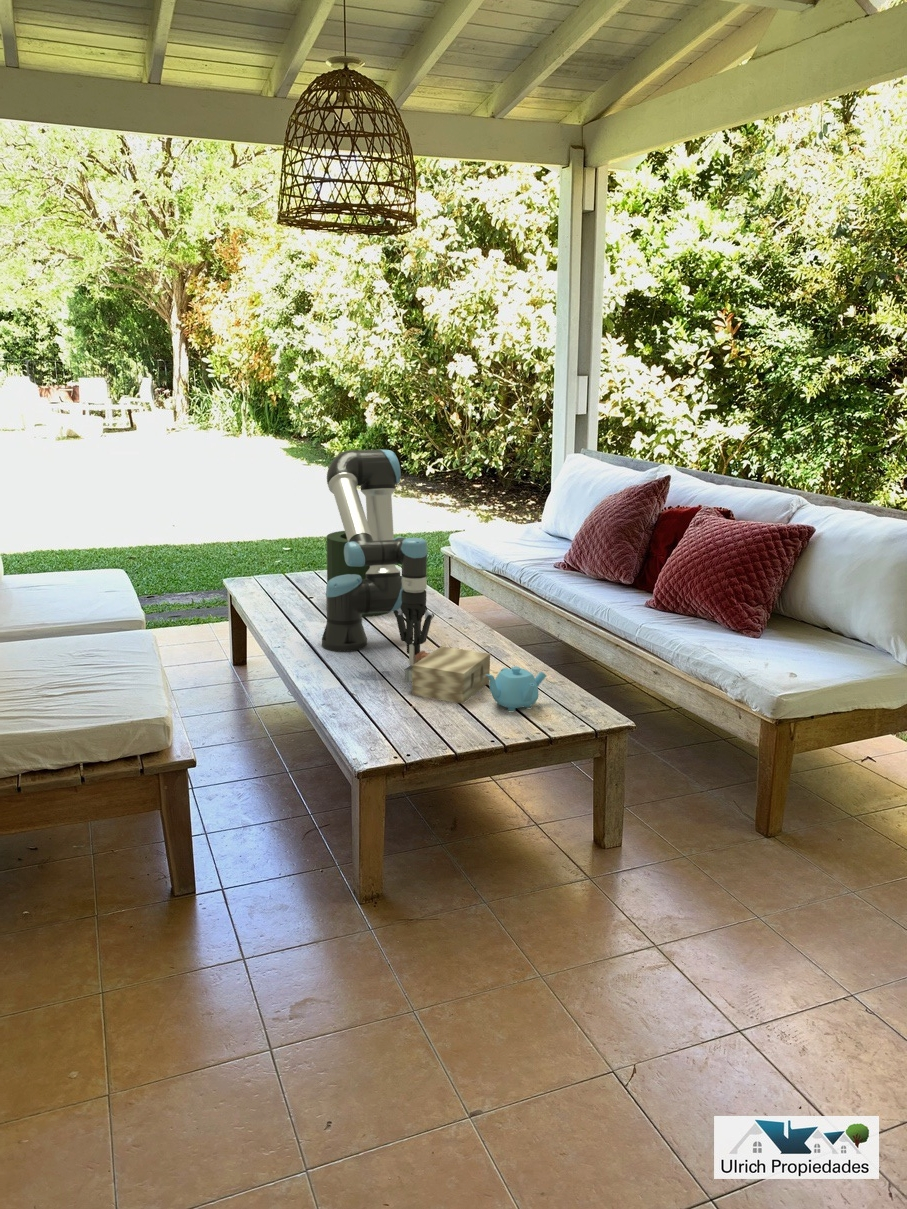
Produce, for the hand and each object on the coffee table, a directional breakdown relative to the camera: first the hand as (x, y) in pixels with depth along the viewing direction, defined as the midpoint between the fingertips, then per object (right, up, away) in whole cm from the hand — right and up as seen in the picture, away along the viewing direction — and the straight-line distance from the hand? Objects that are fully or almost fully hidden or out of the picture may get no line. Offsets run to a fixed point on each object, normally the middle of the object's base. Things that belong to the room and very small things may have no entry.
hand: (413, 664), depth 294 cm
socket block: (+12, -6, -11) cm, 18 cm away
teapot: (+30, -11, -24) cm, 40 cm away
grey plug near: (+7, -5, -17) cm, 19 cm away
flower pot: (-23, +17, +72) cm, 77 cm away
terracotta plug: (+10, -1, -4) cm, 10 cm away
